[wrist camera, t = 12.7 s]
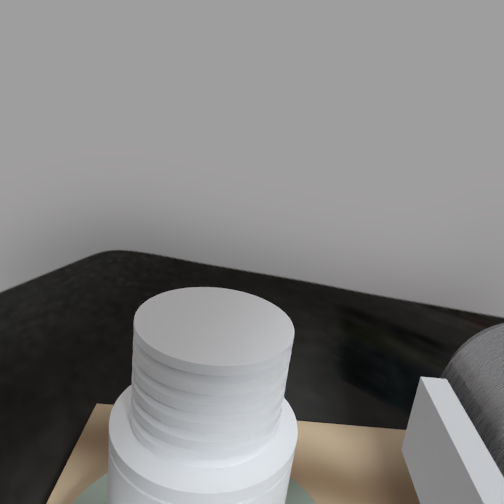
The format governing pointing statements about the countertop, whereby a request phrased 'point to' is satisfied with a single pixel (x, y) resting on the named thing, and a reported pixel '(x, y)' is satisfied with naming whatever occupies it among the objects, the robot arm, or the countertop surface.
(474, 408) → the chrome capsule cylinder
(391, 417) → the countertop surface
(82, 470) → the mounting board
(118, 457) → the downlight
